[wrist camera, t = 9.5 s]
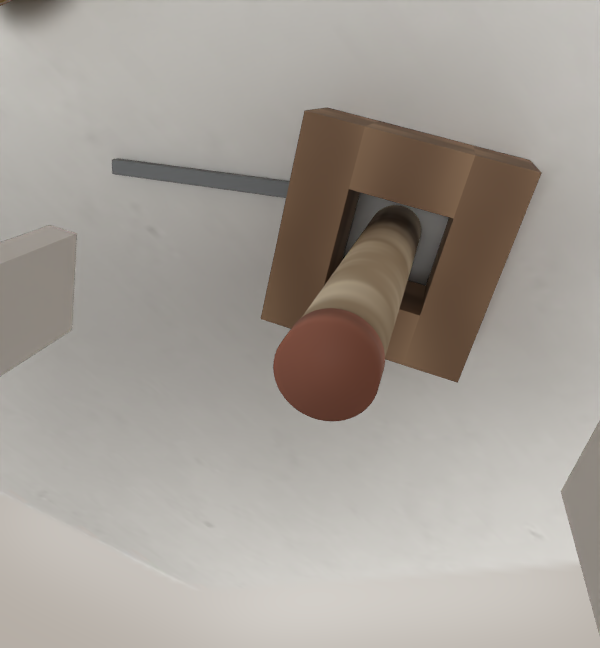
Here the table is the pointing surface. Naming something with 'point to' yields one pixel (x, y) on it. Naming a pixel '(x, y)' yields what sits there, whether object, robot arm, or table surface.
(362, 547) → the table surface
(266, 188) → the gray square bar
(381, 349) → the wooden dowel rod
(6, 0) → the mug
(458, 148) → the wooden block with hole
